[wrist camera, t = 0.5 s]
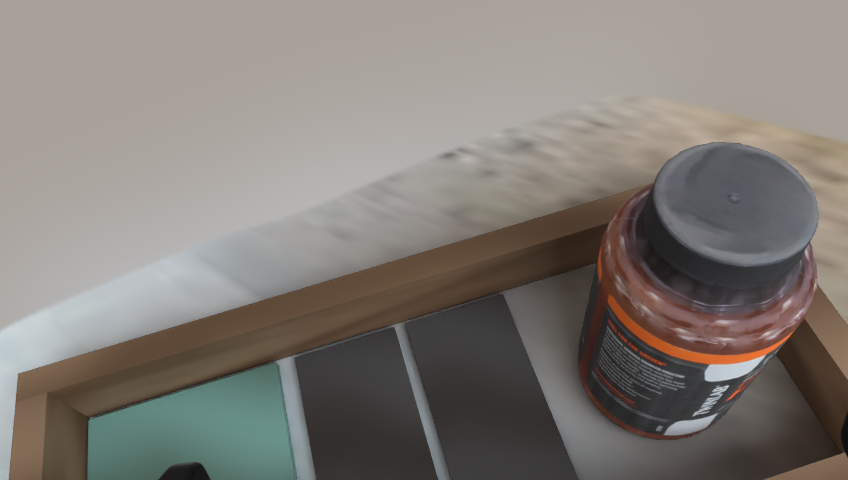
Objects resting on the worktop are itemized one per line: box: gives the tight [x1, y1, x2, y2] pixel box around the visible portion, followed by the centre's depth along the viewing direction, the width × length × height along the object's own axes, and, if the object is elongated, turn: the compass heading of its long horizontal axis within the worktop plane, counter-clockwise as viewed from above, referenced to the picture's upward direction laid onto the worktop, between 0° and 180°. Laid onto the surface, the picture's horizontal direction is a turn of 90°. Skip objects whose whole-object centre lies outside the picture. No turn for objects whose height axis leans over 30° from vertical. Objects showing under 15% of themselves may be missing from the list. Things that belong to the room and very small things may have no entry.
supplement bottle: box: [578, 142, 819, 440], centre depth 21 cm, size 6×6×11 cm
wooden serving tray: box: [9, 184, 848, 480], centre depth 24 cm, size 13×30×3 cm, turn 106°
